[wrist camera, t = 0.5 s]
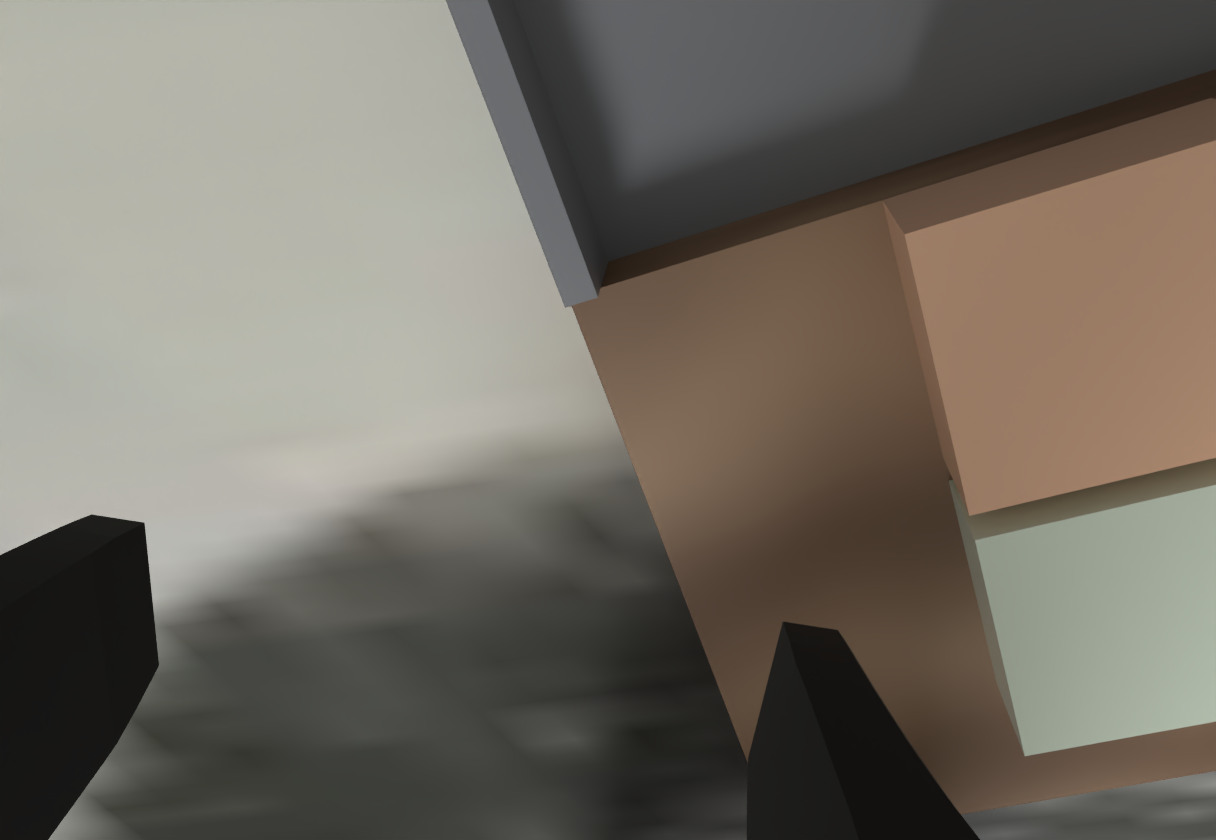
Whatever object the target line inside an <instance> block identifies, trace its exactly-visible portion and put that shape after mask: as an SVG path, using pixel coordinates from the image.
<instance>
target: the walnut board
mask: <svg viewBox="0 0 1216 840" xmlns="http://www.w3.org/2000/svg"><path fill="white" fill-rule="evenodd" d="M1209 98H1213V99H1216V69H1215V70H1211V71H1208V72H1205V73H1202V74H1199V75H1196V76H1193V77H1189V78H1186V79H1183V80H1180V81H1177V82H1174V83H1170V84H1167V85H1164V86H1161V87H1158V88H1155V89H1152V90H1148V91H1145V92H1142V93H1139V94H1136V95H1133V96H1129V97H1126V98H1123V99H1120V100H1117V101H1114V102H1111V103H1107V104H1104V105H1101V106H1098V107H1095V108H1092V109H1088V110H1085V111H1082V112H1079V113H1076V114H1073V115H1070V116H1066V117H1063V118H1060V119H1057V120H1054V121H1051V122H1047V123H1044V124H1041V125H1038V126H1035V127H1032V128H1029V129H1025V130H1022V131H1019V132H1016V133H1013V134H1010V135H1006V136H1003V137H1000V138H997V139H994V140H991V141H988V142H984V143H981V144H978V145H975V146H972V147H969V148H965V149H962V150H959V151H956V152H953V153H950V154H947V155H943V156H940V157H937V158H934V159H931V160H928V161H924V162H921V163H918V164H915V165H912V166H909V167H906V168H902V169H899V170H896V171H893V172H890V173H887V174H883V175H880V176H877V177H874V178H871V179H868V180H865V181H861V182H858V183H855V184H852V185H849V186H846V187H842V188H839V189H836V190H833V191H830V192H827V193H824V194H820V195H817V196H814V197H811V198H808V199H805V200H801V201H798V202H795V203H792V204H789V205H786V206H782V207H779V208H776V209H773V210H770V211H767V212H764V213H760V214H757V215H754V216H751V217H748V218H745V219H741V220H738V221H735V222H732V223H729V224H726V225H723V226H719V227H716V228H713V229H710V230H707V231H704V232H700V233H697V234H694V235H691V236H688V237H685V238H682V239H678V240H675V241H672V242H669V243H666V244H663V245H659V246H656V247H653V248H650V249H647V250H644V251H641V252H637V253H634V254H631V255H628V256H625V257H622V258H618V259H615V260H612V261H609V262H608V264H607V268H606V271H605V275H604V278H603V282H602V285H601V289H600V292H599V296H598V298H595V299H592V300H588V301H585V302H582V303H579V304H576V305H572V308H573V310H574V313H575V315H576V318H577V321H578V323H579V326H580V328H581V331H582V334H583V336H584V339H585V341H586V344H587V347H588V349H589V352H590V354H591V357H592V360H593V362H594V365H595V367H596V370H597V373H598V375H599V378H600V380H601V383H602V386H603V388H604V391H605V393H606V396H607V399H608V401H609V404H610V406H611V409H612V412H613V414H614V417H615V419H616V422H617V425H618V427H619V430H620V432H621V435H622V438H623V440H624V443H625V445H626V448H627V451H628V453H629V456H630V458H631V461H632V464H633V466H634V469H635V471H636V474H637V477H638V479H639V482H640V484H641V487H642V490H643V492H644V495H645V497H646V500H647V503H648V505H649V508H650V510H651V513H652V516H653V518H654V521H655V523H656V526H657V529H658V531H659V534H660V536H661V539H662V542H663V544H664V547H665V549H666V552H667V555H668V557H669V560H670V562H671V565H672V568H673V570H674V573H675V575H676V578H677V581H678V583H679V586H680V588H681V591H682V594H683V596H684V599H685V601H686V604H687V607H688V609H689V612H690V614H691V617H692V620H693V622H694V625H695V627H696V630H697V633H698V635H699V638H700V640H701V643H702V645H703V648H704V651H705V653H706V656H707V658H708V661H709V664H710V666H711V669H712V671H713V674H714V677H715V679H716V682H717V684H718V687H719V690H720V692H721V695H722V697H723V700H724V703H725V705H726V708H727V710H728V713H729V716H730V718H731V721H732V723H733V726H734V729H735V731H736V734H737V736H738V739H739V742H740V744H741V747H742V749H743V752H744V755H745V757H746V760H747V762H748V757H749V753H750V749H751V745H752V741H753V737H754V733H755V729H756V725H757V721H758V717H759V713H760V709H761V705H762V701H763V697H764V693H765V690H766V686H767V682H768V678H769V674H770V670H771V666H772V662H773V658H774V654H775V650H776V646H777V642H778V638H779V634H780V630H781V626H782V622H790V623H796V624H803V625H809V626H816V627H822V628H829V629H835V630H838V631H839V632H840V634H841V635H842V637H843V638H844V639H845V641H846V642H847V644H848V646H849V647H850V649H851V650H852V652H853V654H854V655H855V657H856V659H857V660H858V662H859V664H860V665H861V667H862V668H863V670H864V672H865V673H866V675H867V677H868V678H869V680H870V681H871V683H872V685H873V686H874V688H875V689H876V691H877V693H878V694H879V696H880V697H881V699H882V701H883V702H884V704H885V705H886V707H887V708H888V710H889V712H890V713H891V715H892V716H893V718H894V719H895V721H896V722H897V724H898V726H899V727H900V729H901V730H902V732H903V733H904V735H905V736H906V738H907V739H908V741H909V742H910V744H911V745H912V747H913V748H914V749H915V751H916V752H917V754H918V755H919V757H920V758H921V760H922V761H923V762H924V764H925V765H926V767H927V768H928V770H929V771H930V772H931V774H932V775H933V777H934V778H935V780H936V781H937V783H938V784H939V785H940V787H941V788H942V790H943V791H944V793H945V794H946V795H947V797H948V798H949V799H950V801H951V802H952V803H953V805H954V806H955V808H956V809H957V810H958V812H959V813H960V814H967V813H972V812H978V811H984V810H990V809H996V808H1002V807H1007V806H1013V805H1019V804H1025V803H1031V802H1037V801H1042V800H1048V799H1054V798H1060V797H1066V796H1072V795H1077V794H1083V793H1089V792H1095V791H1101V790H1107V789H1112V788H1118V787H1124V786H1130V785H1136V784H1142V783H1147V782H1153V781H1159V780H1165V779H1171V778H1177V777H1182V776H1188V775H1194V774H1200V773H1206V772H1212V771H1216V722H1211V723H1205V724H1200V725H1194V726H1189V727H1183V728H1178V729H1172V730H1167V731H1161V732H1156V733H1150V734H1145V735H1139V736H1134V737H1128V738H1123V739H1117V740H1112V741H1106V742H1101V743H1095V744H1090V745H1084V746H1079V747H1073V748H1068V749H1062V750H1057V751H1051V752H1046V753H1040V754H1035V755H1029V756H1024V753H1023V751H1022V748H1021V745H1020V743H1019V740H1018V738H1017V735H1016V732H1015V730H1014V727H1013V725H1012V722H1011V719H1010V717H1009V714H1008V712H1007V709H1006V707H1005V704H1004V701H1003V699H1002V696H1001V694H1000V691H999V688H998V686H997V683H996V679H995V675H994V670H993V666H992V662H991V658H990V653H989V649H988V645H987V641H986V637H985V632H984V628H983V624H982V620H981V615H980V611H979V607H978V603H977V598H976V594H975V590H974V586H973V582H972V577H971V573H970V569H969V565H968V560H967V556H966V552H965V548H964V544H963V539H962V535H961V531H960V527H959V522H958V518H957V514H956V510H955V505H954V501H953V497H952V493H951V489H950V484H949V480H953V478H952V476H951V474H950V472H949V470H948V467H947V465H946V463H945V461H944V458H943V455H942V450H941V446H940V442H939V438H938V434H937V429H936V425H935V421H934V417H933V412H932V408H931V404H930V400H929V396H928V391H927V387H926V383H925V379H924V374H923V370H922V366H921V362H920V357H919V353H918V349H917V345H916V341H915V336H914V332H913V328H912V324H911V319H910V315H909V311H908V307H907V303H906V298H905V294H904V290H903V286H902V281H901V277H900V273H899V269H898V264H897V260H896V256H895V252H894V248H893V243H892V239H891V235H890V231H889V226H888V222H887V218H886V214H885V209H884V205H883V201H882V200H885V199H888V198H891V197H894V196H898V195H901V194H904V193H907V192H910V191H914V190H917V189H920V188H923V187H926V186H930V185H933V184H936V183H939V182H943V181H946V180H949V179H952V178H955V177H959V176H962V175H965V174H968V173H971V172H975V171H978V170H981V169H984V168H987V167H991V166H994V165H997V164H1000V163H1004V162H1007V161H1010V160H1013V159H1016V158H1020V157H1023V156H1026V155H1029V154H1032V153H1036V152H1039V151H1042V150H1045V149H1049V148H1052V147H1055V146H1058V145H1061V144H1065V143H1068V142H1071V141H1074V140H1077V139H1081V138H1084V137H1087V136H1090V135H1093V134H1097V133H1100V132H1103V131H1106V130H1110V129H1113V128H1116V127H1119V126H1122V125H1126V124H1129V123H1132V122H1135V121H1138V120H1142V119H1145V118H1148V117H1151V116H1154V115H1158V114H1161V113H1164V112H1167V111H1171V110H1174V109H1177V108H1180V107H1183V106H1187V105H1190V104H1193V103H1196V102H1199V101H1203V100H1206V99H1209Z"/></svg>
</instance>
